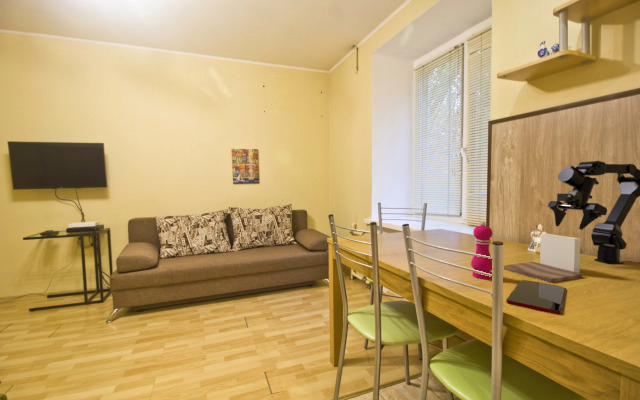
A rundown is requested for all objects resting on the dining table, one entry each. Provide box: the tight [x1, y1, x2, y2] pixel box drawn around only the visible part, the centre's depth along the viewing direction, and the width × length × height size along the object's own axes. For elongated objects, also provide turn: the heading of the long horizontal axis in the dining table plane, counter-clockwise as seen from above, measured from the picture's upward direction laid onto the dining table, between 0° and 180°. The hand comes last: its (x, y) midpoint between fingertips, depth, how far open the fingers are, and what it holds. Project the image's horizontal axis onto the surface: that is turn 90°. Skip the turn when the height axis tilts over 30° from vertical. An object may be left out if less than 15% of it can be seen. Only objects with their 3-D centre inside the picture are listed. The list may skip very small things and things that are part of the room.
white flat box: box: [539, 233, 581, 273], centre depth 114 cm, size 3×12×13 cm, turn 19°
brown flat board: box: [503, 261, 584, 284], centre depth 111 cm, size 16×18×1 cm
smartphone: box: [505, 279, 567, 315], centre depth 89 cm, size 12×2×25 cm
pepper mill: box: [470, 220, 493, 280], centre depth 107 cm, size 7×7×20 cm
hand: (568, 227), depth 118 cm, fingers open, 9 cm apart
